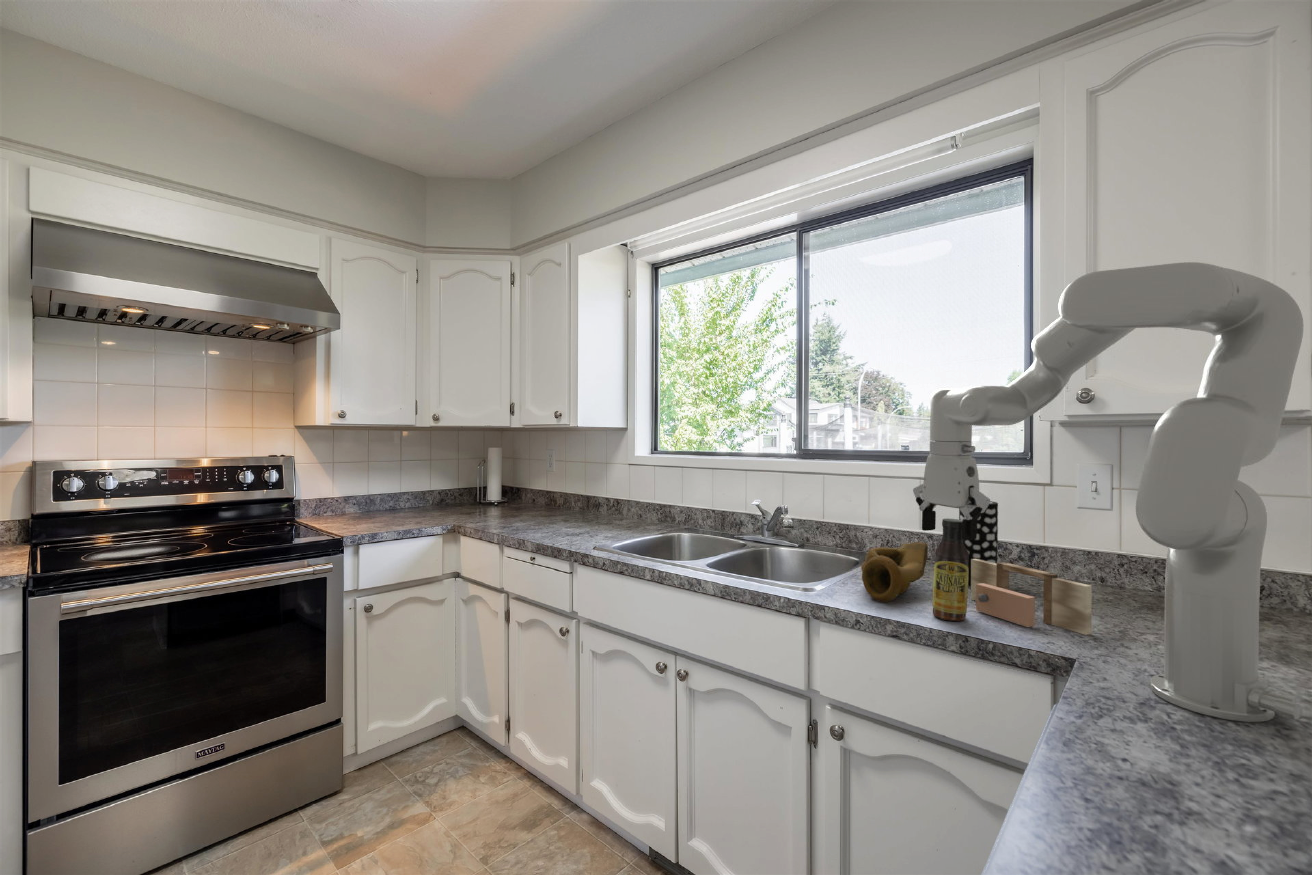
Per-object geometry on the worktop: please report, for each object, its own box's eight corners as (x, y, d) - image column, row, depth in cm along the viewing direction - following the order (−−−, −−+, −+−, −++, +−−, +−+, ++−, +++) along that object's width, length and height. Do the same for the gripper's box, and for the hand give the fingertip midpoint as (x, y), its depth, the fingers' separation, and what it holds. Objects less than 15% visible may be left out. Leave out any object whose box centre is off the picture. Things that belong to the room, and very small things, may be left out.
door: (1034, 625, 111) (1035, 597, 111) (1023, 627, 110) (1024, 599, 110) (983, 609, 121) (983, 582, 121) (972, 610, 120) (972, 584, 120)
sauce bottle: (931, 619, 116) (932, 520, 115) (932, 610, 121) (933, 516, 121) (968, 624, 113) (969, 523, 112) (968, 615, 118) (968, 518, 118)
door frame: (1092, 633, 107) (1092, 582, 107) (1085, 635, 107) (1085, 583, 106) (976, 598, 130) (976, 555, 129) (970, 599, 129) (970, 556, 129)
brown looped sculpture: (970, 562, 133) (908, 557, 122) (948, 611, 136) (886, 611, 125) (905, 526, 149) (846, 519, 138) (887, 570, 151) (827, 567, 140)
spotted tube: (996, 589, 137) (996, 505, 136) (957, 584, 141) (957, 502, 141) (998, 581, 144) (998, 501, 143) (960, 577, 148) (960, 499, 148)
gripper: (1003, 452, 110) (1000, 541, 111) (928, 447, 126) (927, 525, 126) (975, 453, 107) (972, 544, 108) (902, 448, 123) (901, 528, 124)
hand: (948, 534), depth 117 cm, fingers open, 9 cm apart
